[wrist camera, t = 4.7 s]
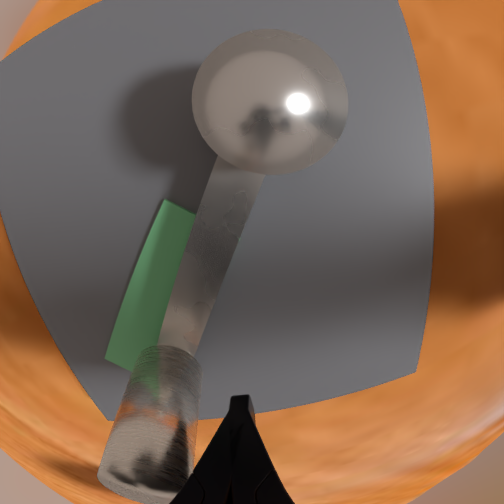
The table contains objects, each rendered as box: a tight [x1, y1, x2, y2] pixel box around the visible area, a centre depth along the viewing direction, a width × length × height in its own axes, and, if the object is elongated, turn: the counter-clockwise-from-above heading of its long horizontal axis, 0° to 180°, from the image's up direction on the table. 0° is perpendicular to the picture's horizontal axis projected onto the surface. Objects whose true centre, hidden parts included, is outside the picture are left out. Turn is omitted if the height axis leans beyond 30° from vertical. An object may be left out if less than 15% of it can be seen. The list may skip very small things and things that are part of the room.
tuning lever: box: [97, 29, 348, 504], centre depth 8 cm, size 17×4×7 cm, turn 158°
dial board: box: [0, 0, 434, 421], centre depth 12 cm, size 20×22×2 cm
